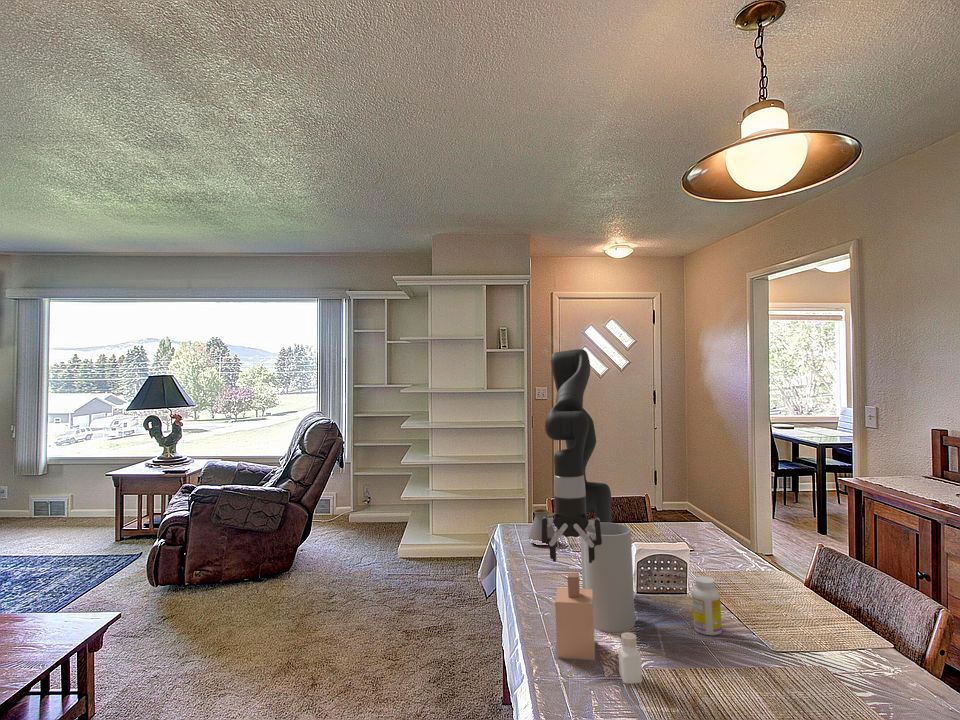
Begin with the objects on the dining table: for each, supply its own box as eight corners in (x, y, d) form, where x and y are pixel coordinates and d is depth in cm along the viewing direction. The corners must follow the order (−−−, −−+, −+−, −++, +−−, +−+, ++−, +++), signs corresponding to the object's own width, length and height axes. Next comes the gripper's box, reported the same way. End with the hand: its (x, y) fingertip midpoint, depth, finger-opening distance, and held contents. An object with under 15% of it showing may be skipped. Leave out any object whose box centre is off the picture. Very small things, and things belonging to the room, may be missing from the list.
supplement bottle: (720, 626, 137) (718, 575, 138) (723, 638, 131) (720, 585, 132) (693, 623, 140) (690, 573, 140) (694, 634, 133) (691, 583, 134)
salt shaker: (636, 675, 116) (634, 631, 117) (643, 685, 112) (640, 639, 113) (618, 676, 116) (616, 631, 117) (624, 686, 112) (622, 640, 113)
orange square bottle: (594, 642, 130) (591, 569, 131) (594, 660, 122) (591, 582, 123) (559, 639, 132) (556, 568, 133) (557, 657, 124) (554, 581, 124)
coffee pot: (535, 549, 205) (533, 510, 206) (523, 541, 216) (522, 504, 217) (584, 542, 212) (582, 504, 213) (570, 534, 223) (569, 498, 224)
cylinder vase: (608, 639, 133) (603, 538, 134) (577, 620, 144) (573, 527, 145) (645, 627, 138) (640, 530, 139) (612, 609, 149) (608, 520, 151)
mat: (597, 643, 131) (597, 641, 131) (598, 664, 121) (598, 662, 121) (556, 640, 133) (556, 638, 133) (554, 661, 123) (554, 659, 123)
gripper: (599, 490, 131) (602, 557, 130) (541, 490, 134) (544, 555, 133) (599, 497, 123) (602, 568, 123) (538, 496, 126) (541, 565, 126)
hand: (572, 561), depth 128 cm, fingers open, 8 cm apart
